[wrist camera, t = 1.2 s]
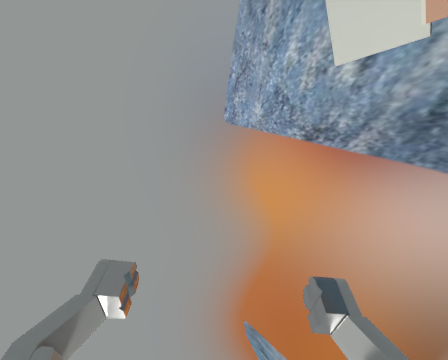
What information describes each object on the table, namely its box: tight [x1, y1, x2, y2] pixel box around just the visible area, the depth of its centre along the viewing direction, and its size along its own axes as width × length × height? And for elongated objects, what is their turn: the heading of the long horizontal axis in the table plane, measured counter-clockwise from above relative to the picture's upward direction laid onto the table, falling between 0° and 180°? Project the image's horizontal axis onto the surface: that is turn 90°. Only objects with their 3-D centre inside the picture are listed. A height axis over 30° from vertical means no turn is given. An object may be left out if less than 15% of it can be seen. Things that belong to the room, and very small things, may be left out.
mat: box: [326, 0, 431, 66], centre depth 37 cm, size 14×14×1 cm
